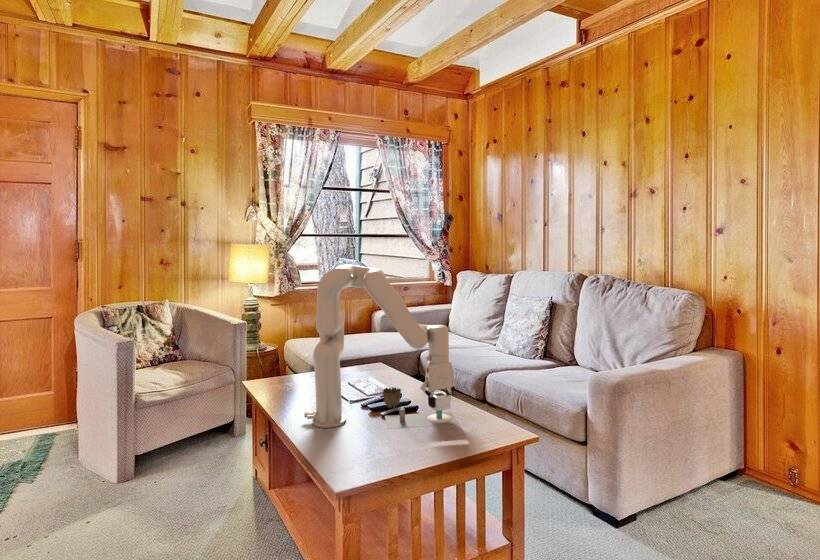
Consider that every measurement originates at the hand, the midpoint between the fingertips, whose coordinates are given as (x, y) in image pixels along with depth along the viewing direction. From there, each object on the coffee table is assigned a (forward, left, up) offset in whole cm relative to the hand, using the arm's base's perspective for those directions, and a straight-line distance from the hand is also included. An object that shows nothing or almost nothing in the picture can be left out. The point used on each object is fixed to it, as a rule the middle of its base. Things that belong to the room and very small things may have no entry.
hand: (439, 404), depth 191 cm
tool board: (-7, 0, -7) cm, 10 cm away
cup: (-16, +17, -7) cm, 24 cm away
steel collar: (0, 0, -1) cm, 1 cm away
